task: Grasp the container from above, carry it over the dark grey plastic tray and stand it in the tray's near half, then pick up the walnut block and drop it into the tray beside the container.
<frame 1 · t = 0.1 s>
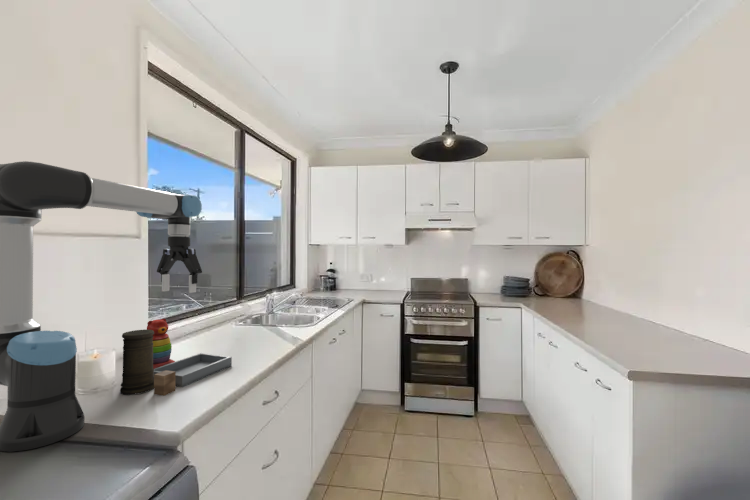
hand: (178, 291, 133), 28 cm above the countertop, fingers open, 13 cm apart
container: (138, 390, 110), on the countertop
tray: (192, 373, 124), on the countertop
walnut block: (164, 392, 107), on the countertop
stacking bear: (157, 367, 131), on the countertop
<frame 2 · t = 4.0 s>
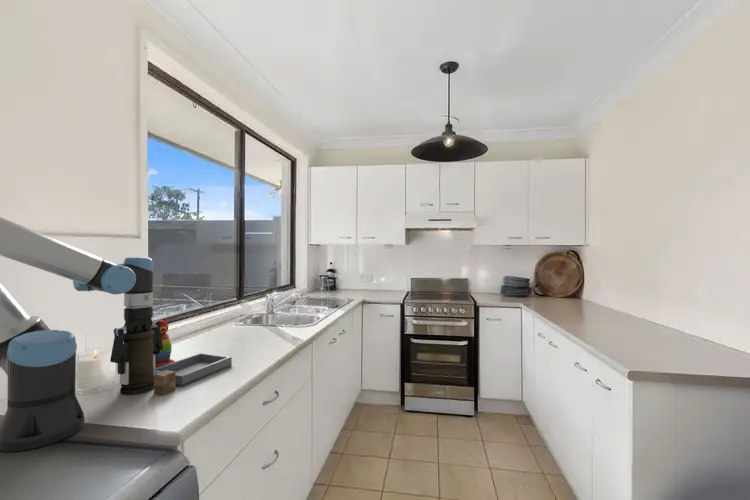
hand: (138, 378, 110), 3 cm above the countertop, fingers closed on container, 8 cm apart
container: (138, 390, 110), on the countertop, touching gripper
everything else where it was.
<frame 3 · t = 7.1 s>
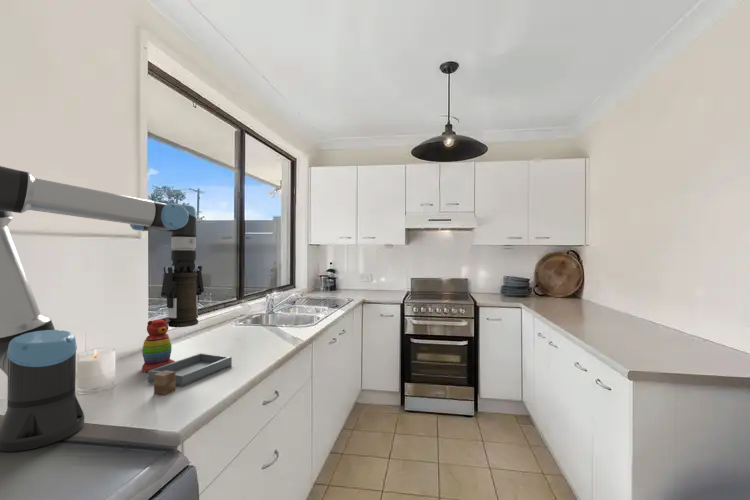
hand: (183, 315, 121), 21 cm above the countertop, fingers closed on container, 8 cm apart
container: (183, 325, 121), point 18 cm above the countertop, touching gripper
everything else where it was.
when the fingers open (6 cm above the countertop, at t = 10.2 s): container drops 2 cm, resting on tray.
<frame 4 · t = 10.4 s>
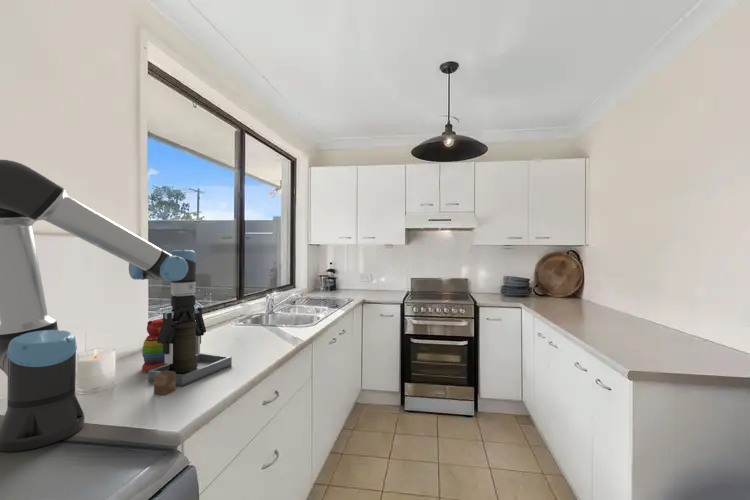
hand: (183, 358, 121), 6 cm above the countertop, fingers open, 10 cm apart
container: (182, 375, 121), point 1 cm above the countertop, touching tray
everything else where it was.
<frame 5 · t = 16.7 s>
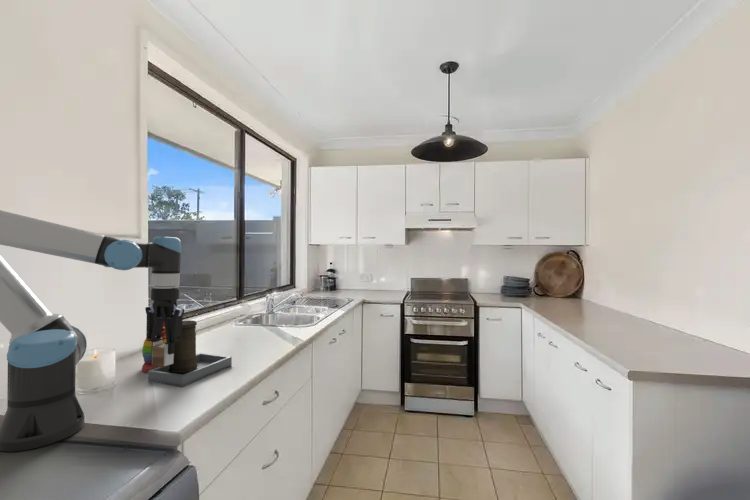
hand: (162, 363, 107), 9 cm above the countertop, fingers closed on walnut block, 4 cm apart
walnut block: (163, 364, 107), point 8 cm above the countertop, touching gripper
everything else where it was.
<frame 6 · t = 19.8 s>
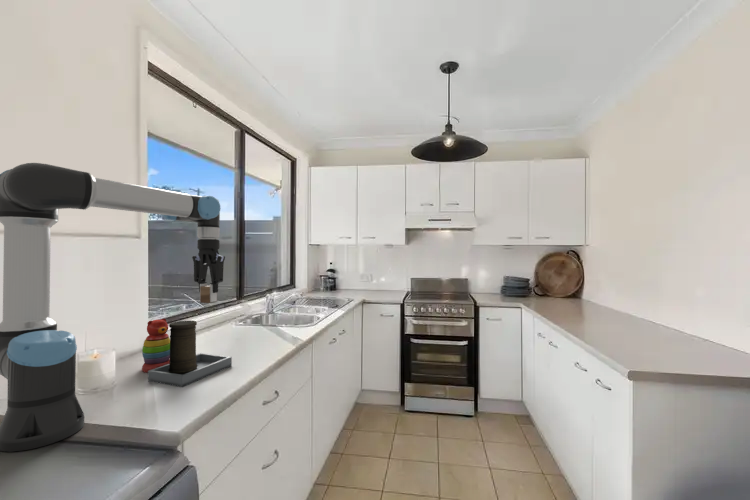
hand: (208, 301, 131), 25 cm above the countertop, fingers closed on walnut block, 4 cm apart
walnut block: (208, 302, 131), point 24 cm above the countertop, touching gripper
everything else where it was.
when the fingers open (2 cm above the countertop, at t = 23.3 s): walnut block stays where it is, resting on tray.
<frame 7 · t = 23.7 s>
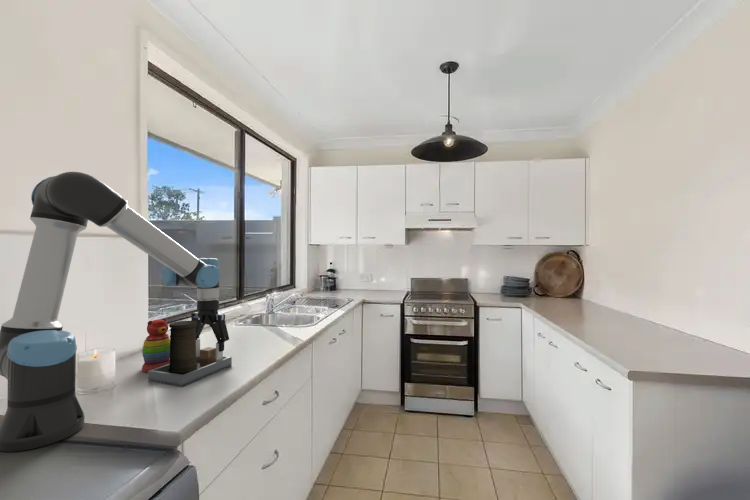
hand: (207, 358, 131), 3 cm above the countertop, fingers open, 10 cm apart
walnut block: (208, 364, 131), point 1 cm above the countertop, touching tray
everything else where it was.
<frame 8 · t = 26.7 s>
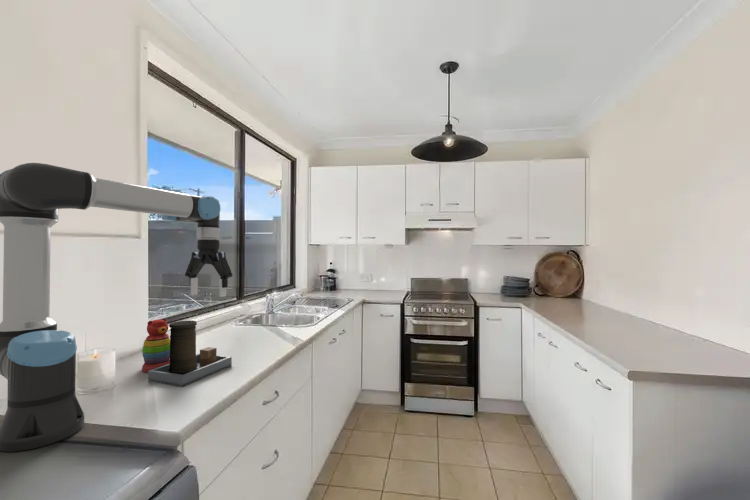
hand: (208, 295, 131), 27 cm above the countertop, fingers open, 13 cm apart
nothing on the countertop moved.
at the end: container inside the target area on the tray (4.0 cm from its centre), point 0.6 cm above the tray's base; container tilted 0°; walnut block inside the target area on the tray (7.2 cm from its centre), point 0.8 cm above the tray's base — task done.
